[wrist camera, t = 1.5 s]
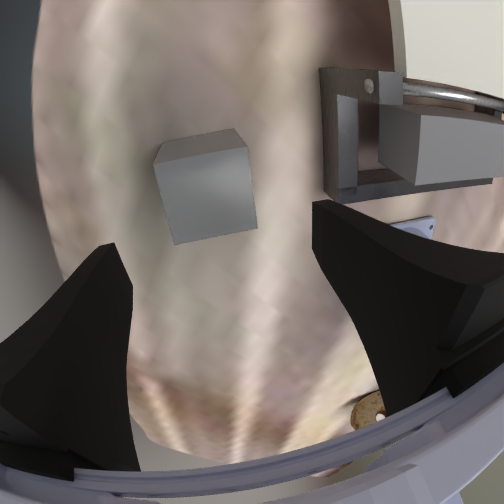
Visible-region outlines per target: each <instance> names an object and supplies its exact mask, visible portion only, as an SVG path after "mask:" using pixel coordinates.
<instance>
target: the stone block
mask: <svg viewBox="0 0 504 504" xmlns="http://www.w3.org/2000/svg"><path fill="white" fill-rule="evenodd" d="M153 168H154V173H155V177H156V180H157V184H158V188H159V192H160V196H161V200H162V203H163V207H164V211H165V214H166V218H167V221H168V225H169V228H170V232H171V235H172V239H173V242H174V245H177V244H182V243H187V242H192V241H196V240H201V239H206V238H211V237H216V236H221V235H226V234H232V233H237V232H242V231H247V230H252V229H257V228H258V227H257V219H256V210H255V202H254V193H253V185H252V177H251V168H250V160H249V152H248V146H247V145H246V143H245V142H244V141H243V139H242V138H241V137H240V136H239V134H238V133H237V132H236V130H235V129H229V130H223V131H217V132H211V133H206V134H200V135H195V136H190V137H186V138H181V139H176V140H172V141H167V142H163V143H162V145H161V148H160V150H159V152H158V154H157V156H156V159H155V161H154V163H153Z"/></svg>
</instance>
